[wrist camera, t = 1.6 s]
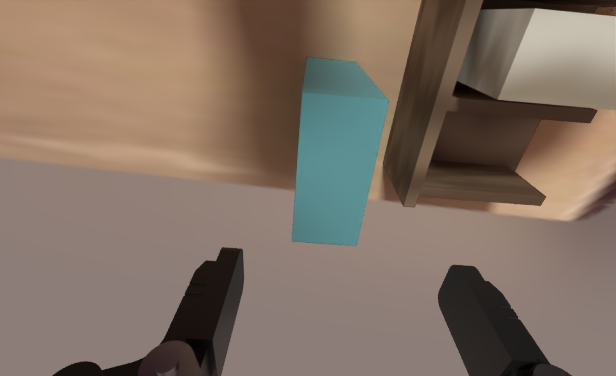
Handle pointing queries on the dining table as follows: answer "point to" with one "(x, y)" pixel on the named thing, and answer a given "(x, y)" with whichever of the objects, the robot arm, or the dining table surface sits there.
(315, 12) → the dining table surface
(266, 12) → the dining table surface
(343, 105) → the teal book
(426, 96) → the book rack
